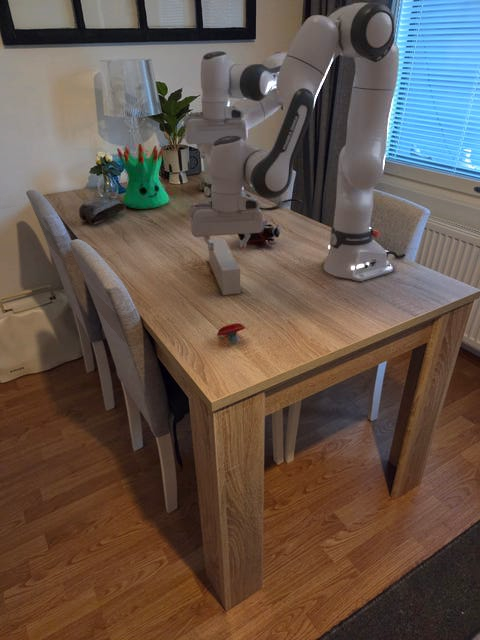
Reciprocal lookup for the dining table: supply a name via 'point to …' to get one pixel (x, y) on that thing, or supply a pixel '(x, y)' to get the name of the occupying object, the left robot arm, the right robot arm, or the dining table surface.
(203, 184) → the artifact
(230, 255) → the bar
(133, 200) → the toy
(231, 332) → the red mushroom
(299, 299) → the dining table surface
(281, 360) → the dining table surface
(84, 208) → the rock
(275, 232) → the toy
